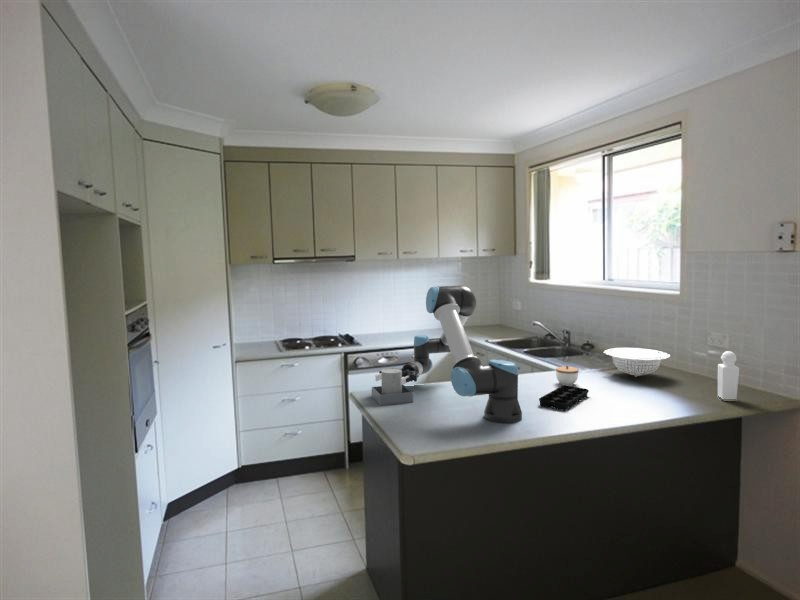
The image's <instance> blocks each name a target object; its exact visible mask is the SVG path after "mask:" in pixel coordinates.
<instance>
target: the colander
mask: <svg viewBox="0 0 800 600" xmlns="http://www.w3.org/2000/svg"><path fill="white" fill-rule="evenodd" d="M603 354H605V355H607V356H609V357H612V363H613V364H614V366H615V368H617V369H618V371H620V372H622V373H625V374H628V375H631V376H634V377H635V378H637V377H639V376H640V377H641V376H645V375H650V374H653V373H654V372H656V371H657V370H658V369H659V367H660V366H661V362H662V360H666V359H669V358H671V354H668V353H667V352H664V351H660V350H657V349H649V348H641V347H614V348H609V349H606V350H604V351H603Z"/></svg>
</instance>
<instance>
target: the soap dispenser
mask: <svg viewBox="0 0 800 600" xmlns="http://www.w3.org/2000/svg"><path fill="white" fill-rule="evenodd" d="M736 355H737V354H735V352H733V351H730V350H726V351H724V352H723V353H722V354H721V356H720V359H721V362H722V363H718V364H717V397H718V396H719V397H721V398H722V399H736V400H737V396H738V386H739V377H740V376H739V375H740V367H739V366H738V365H735V364H736V361H737V356H736Z"/></svg>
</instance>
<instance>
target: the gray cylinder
mask: <svg viewBox="0 0 800 600" xmlns="http://www.w3.org/2000/svg"><path fill="white" fill-rule="evenodd" d="M401 369H402V368H395V367H394V368H393V367H392V368H389V367H388V368H384V369H382V370H380V371H381V386H382V395H387V394H397V393H402V385H401V378H403V377H402V370H401Z"/></svg>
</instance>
